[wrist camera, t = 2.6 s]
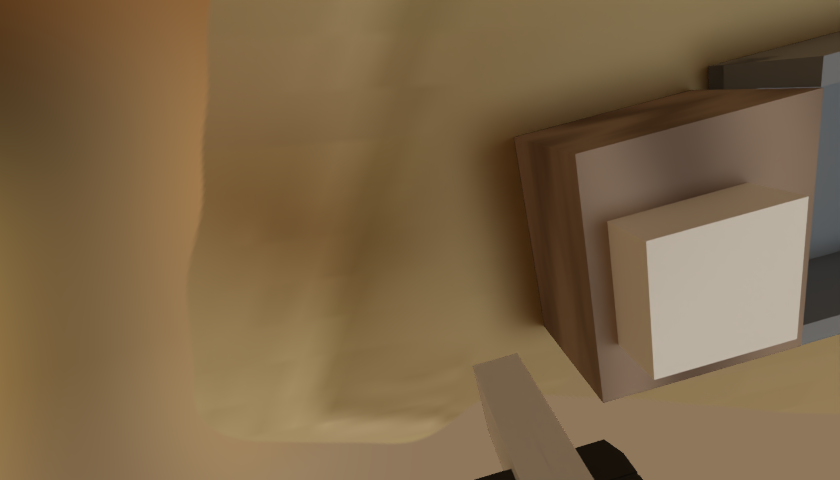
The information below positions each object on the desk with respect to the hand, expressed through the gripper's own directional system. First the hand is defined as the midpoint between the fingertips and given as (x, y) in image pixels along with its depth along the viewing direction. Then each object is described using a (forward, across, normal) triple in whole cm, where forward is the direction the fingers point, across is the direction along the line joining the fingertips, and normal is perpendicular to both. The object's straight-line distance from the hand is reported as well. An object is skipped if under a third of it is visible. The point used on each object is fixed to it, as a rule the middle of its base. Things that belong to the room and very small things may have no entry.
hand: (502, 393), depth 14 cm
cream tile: (+4, +9, 0) cm, 10 cm away
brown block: (+11, +10, 0) cm, 15 cm away
